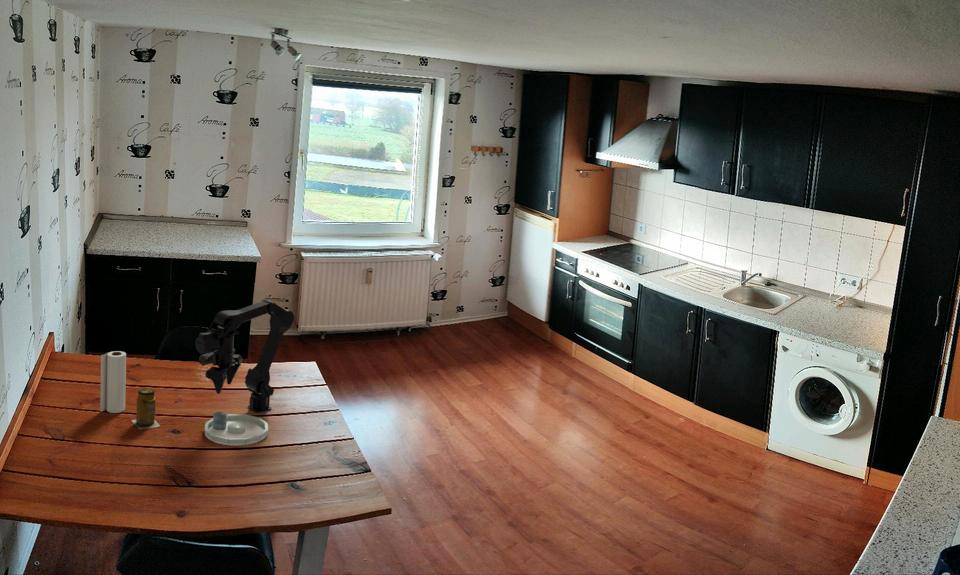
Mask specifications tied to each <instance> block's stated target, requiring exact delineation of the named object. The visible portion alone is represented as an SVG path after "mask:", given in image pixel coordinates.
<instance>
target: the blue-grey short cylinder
mask: <svg viewBox="0 0 960 575" xmlns="http://www.w3.org/2000/svg"><path fill="white" fill-rule="evenodd" d="M227 415H228V413H226V412H225V411H216V412H214V413H213V417H212V418H213V429H215V430H224V429H226V421H227Z"/></svg>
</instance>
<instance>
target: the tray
mask: <svg viewBox="0 0 960 575" xmlns="http://www.w3.org/2000/svg"><path fill="white" fill-rule="evenodd" d="M268 434H269V424H268V422H266V421H265V420H264V419H262V418H261V417H259V416H254V415H250V414H246V413H245V414H244V413H242V414H241V413H238V414H236V413H235V414H234V413H232V414H230V413H228V414H227V421H226V429H224V430H215V429H213V417H212V418H210V419H209V420H208V421H206V422H205V423H204V436H205V437H206V439H208V440H209V441H211V442H213V443H216V444H219V445H223V446H232V447H233V446H236V447H238V446H239V447H241V446H248V445H253V444H257V443H260V442H261V441H263V440H264V439H265V438H266V437H267V436H268Z"/></svg>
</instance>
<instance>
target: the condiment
mask: <svg viewBox="0 0 960 575" xmlns="http://www.w3.org/2000/svg"><path fill="white" fill-rule="evenodd" d="M155 391H156V390H155V389H154V388H150V387H143V388H141V389H138V392H137V397H136V415H135V416H136V418H135V419H131V422H132V423H133V424H134V426H136V429H138V430H146V429H154V428H158V427H161V424H159V423H158V421H157V420H155V419H156V403H157V402H156V401H157V400H156V397H155V393H156V392H155Z"/></svg>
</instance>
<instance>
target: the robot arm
mask: <svg viewBox="0 0 960 575" xmlns="http://www.w3.org/2000/svg"><path fill="white" fill-rule="evenodd" d="M264 315H269V316H270V318H269V328H270V329H269V333H268V334H267V337H266V340H265V342H264V345H263V347H262V351H261V353H260V354H259V359H258V361H257V363H256V365H255V366H254V367H253V368H248V370H247V373H246V376H245V377H244V379H245V381H244V384H245V386H246V388H247V391H248V392H251V393H250V397H249V405H247V408H249V409H250V410H252V411H253V412H255V413H256V414H257V413H262V412H266V411H270V410H272V407H270V399H271V397H272V396H273V395H274V392H275V389H274V388H273V387H272V386H271V385H270V381H271V376H270V375H271V374H270V369H271V367H272V365H273V361H274V358H275V356H276V353H277V351H278V348H279V346H280V343H281V341H282V338H283V335H284V334H285V333H286V332H287V331H289V330H290V329H291V326H292V325H293V323H294V321H295V314H294V312H293V311H291V310H289V309H286V308H283V307H281V306H279V305H278V304H276V303H275V302H274V301H272V300H269V299H263V300H262V301H260V302H257V303H254V304H251V305H247V306H245V307H242V308H239V309H237V310H236V309H235V310H233V309H232V310H230V309H228V310H220V311H218V312H217V313H216V314H215V316H214V318H213V320H212V322H211V323H210V325H209V327H208V328H207V332H200V333H199V334H198V337H196V339H195V342H194V345H195V349H196V351H197V352H198V353H199V354H201V355H199V358H198V363H199V365H201V366H202V367H204V366H207V365H211V364H212V366H210V368H208V369H207V370H206V371H205V373H204V374H205V378H206V379H208V380H211V381H212V383H213V386H214V389H215V392H216V394H221V393H222V390H223V387H224V385H225V382H226V383H227V385H232V382H233V381H234V378H235V376H236V375H237V372H238V371H239V369H240V366H242V363H243V360H244V359H243V356H242V355H240V354H236V348H234V345H235V344H234V341H235V335H236V336H237V335H240V331H238V330H237V329H238V328H240V326H241V325H242V324H243V323H245V322H248V321H250V320H253V319H256V318H258V317H262V316H264Z"/></svg>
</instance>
